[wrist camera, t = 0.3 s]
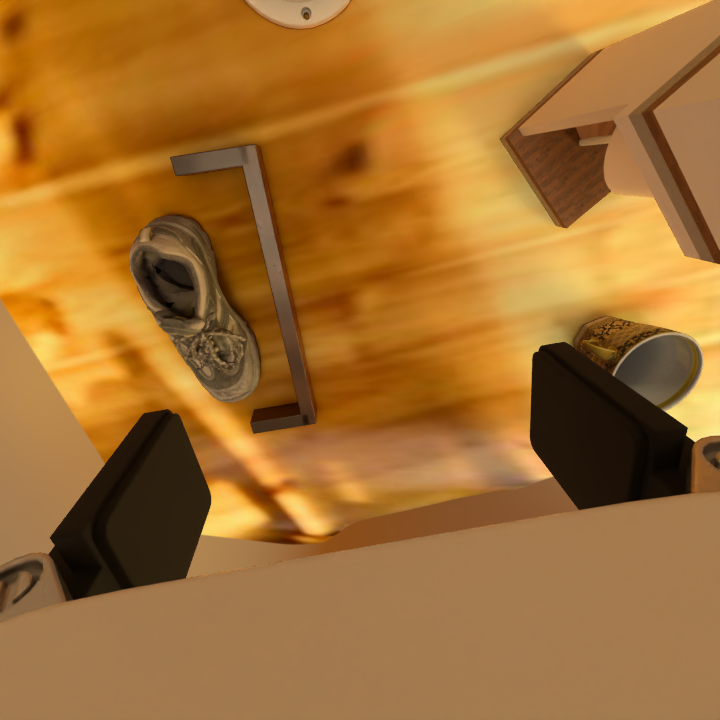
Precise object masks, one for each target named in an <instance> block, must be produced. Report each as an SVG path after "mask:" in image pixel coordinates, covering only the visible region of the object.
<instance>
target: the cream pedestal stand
mask: <svg viewBox="0 0 720 720" xmlns="http://www.w3.org/2000/svg"><path fill="white" fill-rule="evenodd" d="M500 140H501V142H502V143H503V145H504V146H505V148H506V149H507V151H508V152H509V154H510V155H511V157H512V159H513V160H514V162H515V163H516V165H517V166H518V168H519V169H520V171H521V172H522V174H523V175H524V177H525V178H526V180H527V181H528V183H529V185H530V186H531V188H532V189H533V191H534V192H535V194H536V195H537V197H538V198H539V200H540V201H541V203H542V204H543V206H544V208H545V209H546V211H547V212H548V214H549V215H550V217H551V218H552V220H553V221H554V223H555V224H556V226H559V227H563V228H568V227H569V226H570V225H571V224H572V223H574V222H575V221H576V220H577V219H578V218H580V217H581V216H582V215H583V214H584V213H586V212H587V211H588V210H589V209H590V208H592V207H593V206H594V205H595V204H596V203H598V202H599V201H600V200H601V199H602V198H604V197H605V196H606V195H607V194H608V193H609V192H611V191H612V192H613V193H615V194H618V195H626V196H639V197H652V198H655V200H656V202H657V204H658V206H659V208H660V210H661V211H662V213H663V215H664V217H665V219H666V221H667V223H668V225H669V227H670V229H671V230H672V232H673V234H674V236H675V238H676V240H677V242H678V244H679V246H680V248H681V250H682V251H683V253H684V255H685V256H687V257H692V258H696V259H700V260H704V261H709V262H713V263H717V264H720V0H713V1H710V2H708V3H706V4H704V5H701V6H699V7H697V8H695V9H692V10H690V11H688V12H686V13H683V14H681V15H679V16H676V17H674V18H672V19H670V20H667V21H665V22H663V23H661V24H658V25H656V26H654V27H651V28H649V29H647V30H645V31H642V32H640V33H638V34H636V35H633V36H631V37H629V38H627V39H624V40H622V41H620V42H617V43H615V44H613V45H611V46H608V47H606V48H604V49H602V50H599V51H597V52H595V53H593V54H591V55H590V56H589V57H588V58H587V59H585V60H584V61H583V62H582V63H581V64H580V65H579V66H578V67H577V68H576V69H575V70H574V71H573V72H572V73H570V74H569V75H568V76H567V77H566V78H565V79H564V80H563V81H562V82H561V83H560V84H559V85H558V86H557V87H555V88H554V89H553V90H552V91H551V92H550V93H549V94H548V95H547V96H546V97H545V98H544V99H543V100H542V101H540V102H539V103H538V104H537V105H536V106H535V107H534V108H533V109H532V110H531V111H530V112H529V113H528V114H527V115H525V116H524V117H523V118H522V119H521V120H520V121H519V122H518V123H517V124H516V125H515V126H514V127H513V128H512V129H510V130H509V131H508V132H507V133H506V134H505V135H504V136H503V137H502V138H501V139H500Z"/></svg>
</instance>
